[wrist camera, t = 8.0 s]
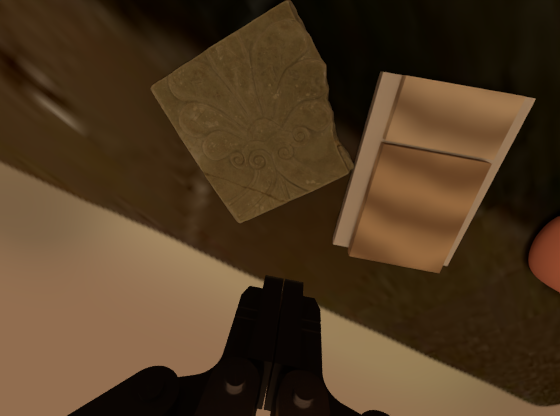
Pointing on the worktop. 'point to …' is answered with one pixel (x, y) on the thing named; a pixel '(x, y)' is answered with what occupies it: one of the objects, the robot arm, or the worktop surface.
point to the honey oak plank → (415, 206)
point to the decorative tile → (258, 114)
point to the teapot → (547, 254)
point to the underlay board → (373, 139)
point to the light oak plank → (451, 117)
